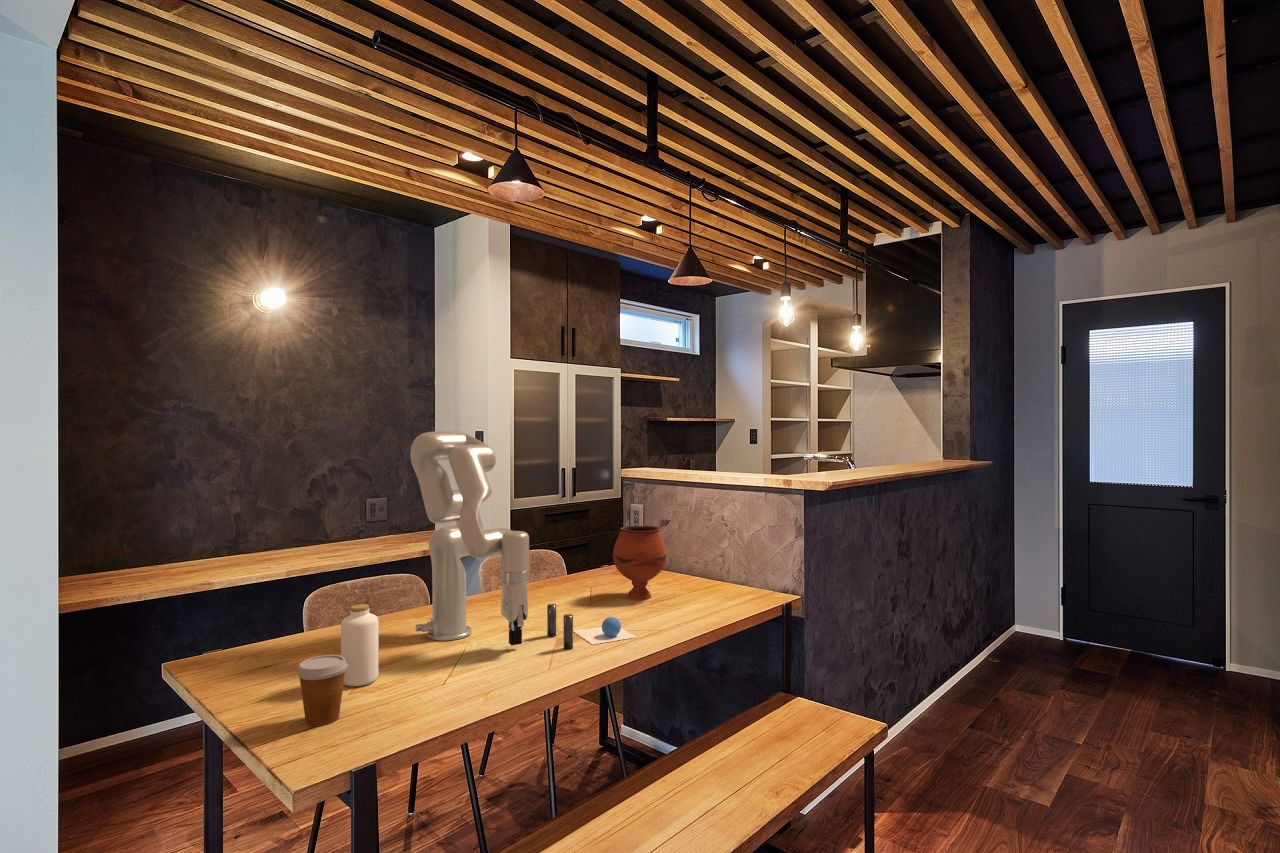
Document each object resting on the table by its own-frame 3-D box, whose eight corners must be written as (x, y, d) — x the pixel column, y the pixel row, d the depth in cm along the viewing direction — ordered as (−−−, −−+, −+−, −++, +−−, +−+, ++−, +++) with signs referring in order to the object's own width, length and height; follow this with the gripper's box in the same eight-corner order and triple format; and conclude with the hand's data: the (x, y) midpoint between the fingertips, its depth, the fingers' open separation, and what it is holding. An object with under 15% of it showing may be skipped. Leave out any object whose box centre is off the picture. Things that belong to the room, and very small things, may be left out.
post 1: (549, 637, 193) (549, 606, 193) (546, 635, 195) (546, 604, 195) (557, 636, 194) (557, 605, 194) (554, 634, 196) (554, 603, 196)
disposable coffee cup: (321, 733, 132) (321, 672, 132) (286, 725, 136) (286, 666, 136) (357, 714, 141) (357, 657, 141) (323, 707, 145) (323, 651, 145)
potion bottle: (367, 672, 165) (367, 600, 165) (385, 680, 160) (385, 605, 160) (334, 682, 159) (334, 606, 159) (351, 691, 154) (351, 612, 154)
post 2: (565, 650, 182) (565, 617, 182) (562, 647, 184) (562, 615, 184) (574, 649, 183) (574, 616, 183) (570, 646, 185) (570, 613, 185)
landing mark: (592, 645, 186) (592, 644, 186) (573, 631, 198) (573, 631, 198) (636, 637, 193) (636, 636, 193) (615, 625, 205) (615, 624, 205)
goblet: (676, 595, 243) (676, 526, 243) (647, 606, 227) (647, 533, 227) (632, 588, 253) (632, 522, 253) (602, 599, 237) (602, 528, 237)
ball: (624, 636, 192) (606, 640, 190) (617, 632, 198) (600, 636, 195) (622, 616, 193) (604, 620, 190) (615, 613, 198) (598, 617, 196)
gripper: (494, 573, 188) (494, 638, 188) (510, 583, 175) (510, 654, 174) (519, 570, 191) (519, 634, 191) (537, 580, 178) (537, 649, 178)
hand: (515, 643), depth 183 cm, fingers closed
